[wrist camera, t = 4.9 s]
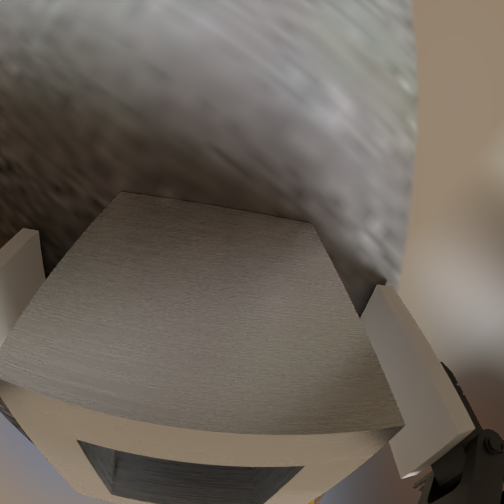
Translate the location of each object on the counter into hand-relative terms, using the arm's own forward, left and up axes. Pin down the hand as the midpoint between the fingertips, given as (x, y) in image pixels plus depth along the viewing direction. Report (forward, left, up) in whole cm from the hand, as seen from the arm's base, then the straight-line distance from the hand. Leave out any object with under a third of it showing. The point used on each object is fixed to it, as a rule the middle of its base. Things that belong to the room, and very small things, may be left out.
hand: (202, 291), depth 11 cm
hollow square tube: (0, 0, 0) cm, 0 cm away
